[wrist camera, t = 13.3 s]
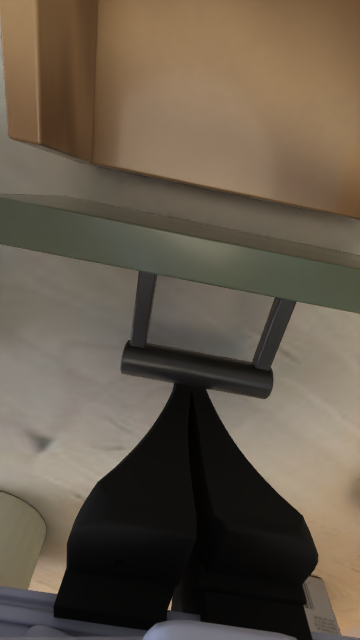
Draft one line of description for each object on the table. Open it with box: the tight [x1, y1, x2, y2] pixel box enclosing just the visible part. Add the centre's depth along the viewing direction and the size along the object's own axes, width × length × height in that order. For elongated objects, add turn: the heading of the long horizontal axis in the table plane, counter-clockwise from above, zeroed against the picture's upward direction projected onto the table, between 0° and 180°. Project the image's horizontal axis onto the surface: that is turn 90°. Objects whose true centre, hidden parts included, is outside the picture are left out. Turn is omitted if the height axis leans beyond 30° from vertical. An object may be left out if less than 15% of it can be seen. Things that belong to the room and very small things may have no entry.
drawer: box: [0, 0, 360, 399], centre depth 8 cm, size 18×13×5 cm
